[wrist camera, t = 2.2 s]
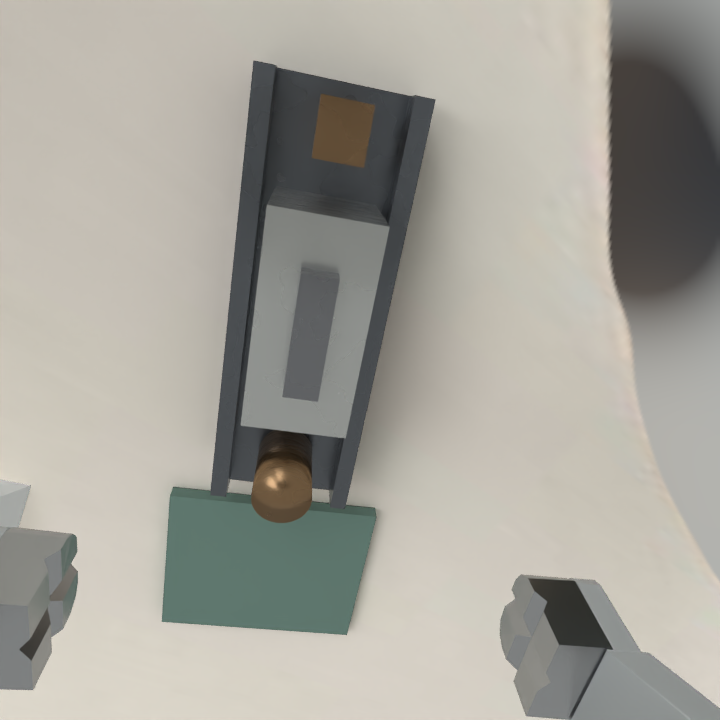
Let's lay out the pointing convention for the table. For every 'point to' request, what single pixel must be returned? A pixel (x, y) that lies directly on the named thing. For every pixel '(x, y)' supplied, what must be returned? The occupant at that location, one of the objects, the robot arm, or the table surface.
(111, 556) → the table surface
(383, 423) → the table surface
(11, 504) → the white jagged cross block
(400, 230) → the dark grey channel holder
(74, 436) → the table surface
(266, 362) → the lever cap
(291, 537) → the rubber mat
